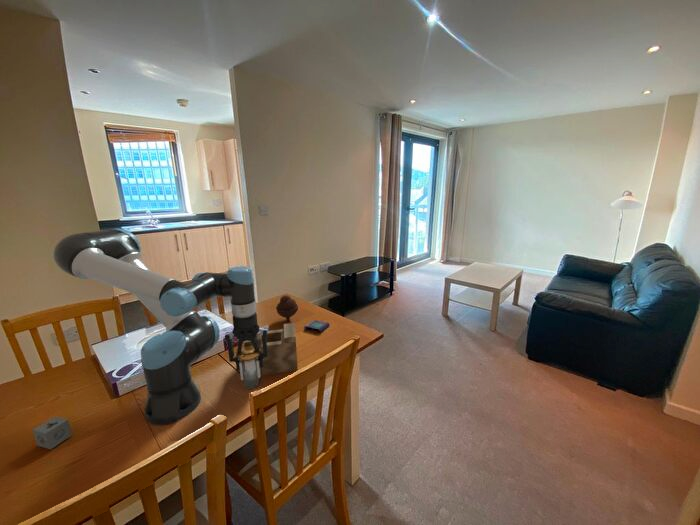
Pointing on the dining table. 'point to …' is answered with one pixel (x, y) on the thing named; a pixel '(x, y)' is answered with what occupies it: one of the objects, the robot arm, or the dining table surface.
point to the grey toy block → (52, 432)
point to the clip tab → (263, 328)
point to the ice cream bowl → (287, 307)
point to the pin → (249, 366)
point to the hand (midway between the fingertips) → (251, 376)
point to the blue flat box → (317, 325)
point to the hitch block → (278, 350)
